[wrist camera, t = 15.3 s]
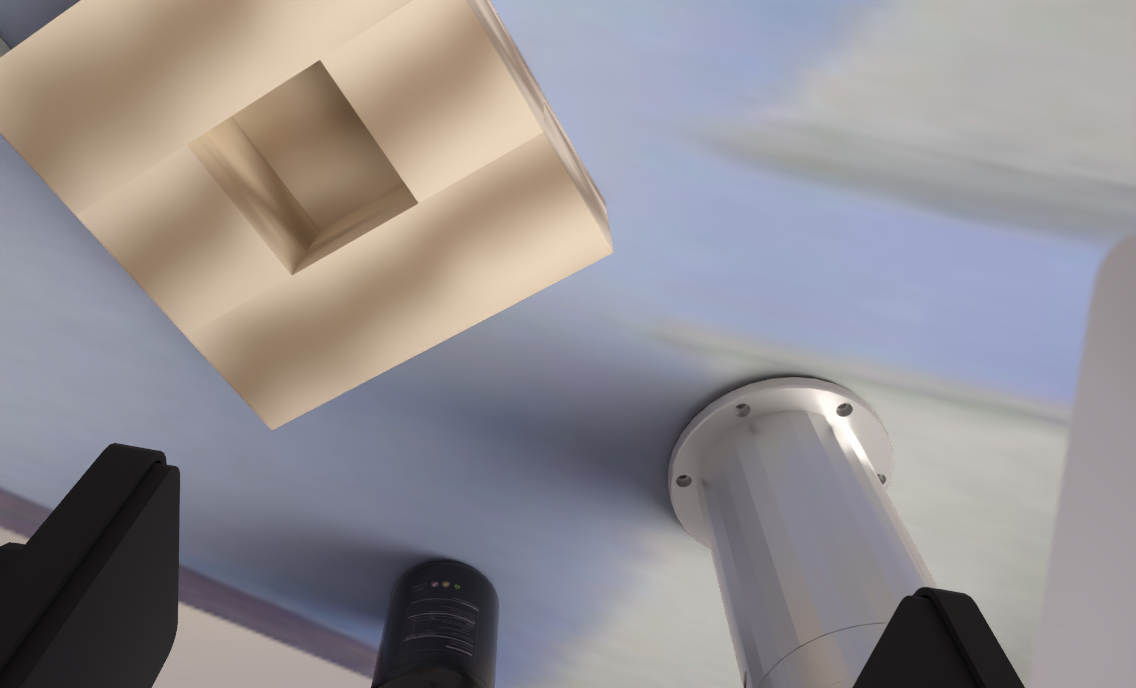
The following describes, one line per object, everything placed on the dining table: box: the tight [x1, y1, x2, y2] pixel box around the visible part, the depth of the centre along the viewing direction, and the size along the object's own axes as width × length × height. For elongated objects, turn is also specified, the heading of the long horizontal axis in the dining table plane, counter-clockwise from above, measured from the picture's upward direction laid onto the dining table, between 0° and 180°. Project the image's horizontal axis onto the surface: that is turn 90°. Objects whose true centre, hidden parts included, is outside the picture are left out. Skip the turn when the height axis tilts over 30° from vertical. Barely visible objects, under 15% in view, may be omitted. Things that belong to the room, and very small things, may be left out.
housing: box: [0, 0, 613, 430], centre depth 36 cm, size 18×18×6 cm
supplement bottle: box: [371, 561, 499, 688], centre depth 48 cm, size 7×7×12 cm
